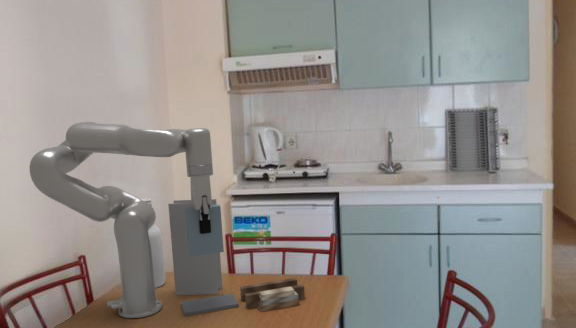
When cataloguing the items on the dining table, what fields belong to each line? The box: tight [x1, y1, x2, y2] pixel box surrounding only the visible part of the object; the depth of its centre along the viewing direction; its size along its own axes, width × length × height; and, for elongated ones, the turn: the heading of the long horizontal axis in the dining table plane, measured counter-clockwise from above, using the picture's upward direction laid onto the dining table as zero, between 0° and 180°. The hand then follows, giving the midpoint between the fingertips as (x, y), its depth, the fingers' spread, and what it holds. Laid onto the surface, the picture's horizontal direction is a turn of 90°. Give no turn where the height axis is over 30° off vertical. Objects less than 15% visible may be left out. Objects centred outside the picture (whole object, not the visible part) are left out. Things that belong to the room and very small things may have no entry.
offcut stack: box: [257, 287, 301, 313], centre depth 154 cm, size 12×4×5 cm, turn 108°
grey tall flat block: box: [168, 198, 223, 296], centre depth 168 cm, size 14×6×30 cm, turn 84°
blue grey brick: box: [185, 203, 224, 257], centre depth 154 cm, size 10×3×14 cm, turn 108°
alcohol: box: [140, 197, 166, 289], centre depth 177 cm, size 9×9×30 cm
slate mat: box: [180, 293, 240, 317], centre depth 157 cm, size 16×9×1 cm, turn 108°
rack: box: [239, 277, 306, 310], centre depth 160 cm, size 18×8×4 cm, turn 108°
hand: (204, 231), depth 154 cm, fingers closed on blue grey brick, 3 cm apart
